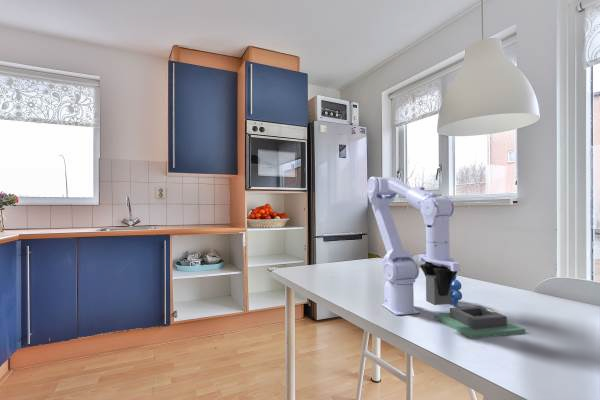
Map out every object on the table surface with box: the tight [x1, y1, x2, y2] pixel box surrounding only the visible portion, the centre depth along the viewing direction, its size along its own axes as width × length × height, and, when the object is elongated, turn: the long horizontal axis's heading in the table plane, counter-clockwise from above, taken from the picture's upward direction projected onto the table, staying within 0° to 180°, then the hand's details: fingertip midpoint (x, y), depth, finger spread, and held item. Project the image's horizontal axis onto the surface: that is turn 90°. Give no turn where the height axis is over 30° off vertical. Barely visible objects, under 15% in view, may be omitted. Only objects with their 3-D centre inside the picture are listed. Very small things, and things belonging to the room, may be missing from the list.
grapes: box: [450, 274, 463, 306], centre depth 101 cm, size 12×7×12 cm, turn 14°
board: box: [434, 305, 526, 339], centre depth 82 cm, size 14×16×4 cm
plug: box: [425, 274, 452, 306], centre depth 80 cm, size 4×5×7 cm
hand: (438, 293), depth 80 cm, fingers closed on plug, 4 cm apart
